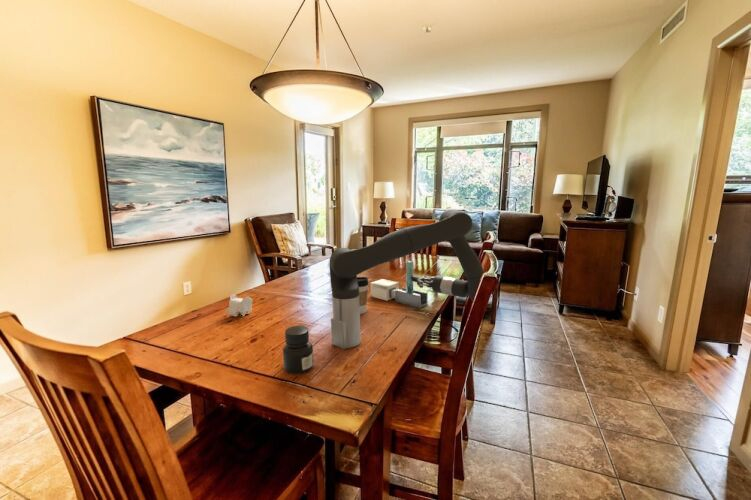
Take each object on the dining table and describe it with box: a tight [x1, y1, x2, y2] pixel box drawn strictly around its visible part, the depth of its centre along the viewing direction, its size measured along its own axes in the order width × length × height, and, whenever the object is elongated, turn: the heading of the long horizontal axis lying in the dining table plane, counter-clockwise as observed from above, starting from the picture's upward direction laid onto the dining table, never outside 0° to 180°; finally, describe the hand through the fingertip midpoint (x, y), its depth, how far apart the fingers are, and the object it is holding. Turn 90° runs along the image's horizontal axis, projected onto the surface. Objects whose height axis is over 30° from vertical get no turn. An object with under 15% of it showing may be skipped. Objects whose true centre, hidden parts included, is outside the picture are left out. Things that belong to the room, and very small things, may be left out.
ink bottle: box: [282, 325, 315, 375], centre depth 102 cm, size 10×9×12 cm
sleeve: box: [394, 287, 428, 309], centre depth 157 cm, size 6×14×6 cm, turn 48°
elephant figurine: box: [224, 293, 254, 317], centre depth 146 cm, size 10×12×9 cm
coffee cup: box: [357, 276, 369, 315], centre depth 147 cm, size 8×8×15 cm
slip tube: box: [389, 260, 421, 299], centre depth 158 cm, size 4×16×19 cm, turn 48°
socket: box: [370, 278, 400, 301], centre depth 168 cm, size 9×10×7 cm
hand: (412, 278), depth 155 cm, fingers closed
